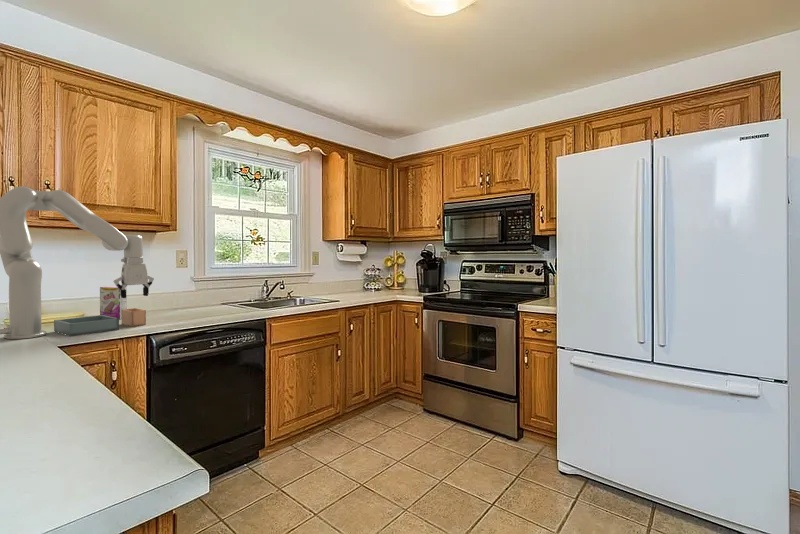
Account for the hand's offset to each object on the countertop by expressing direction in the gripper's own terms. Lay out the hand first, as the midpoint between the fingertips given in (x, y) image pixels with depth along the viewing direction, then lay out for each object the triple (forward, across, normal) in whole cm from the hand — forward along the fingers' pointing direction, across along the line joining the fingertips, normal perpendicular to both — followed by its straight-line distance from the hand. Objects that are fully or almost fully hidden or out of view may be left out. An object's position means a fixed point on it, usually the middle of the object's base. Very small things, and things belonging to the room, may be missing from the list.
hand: (135, 296), depth 195 cm
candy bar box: (+13, +1, +25) cm, 28 cm away
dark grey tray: (+13, -20, 0) cm, 24 cm away
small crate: (+13, -1, 0) cm, 13 cm away
